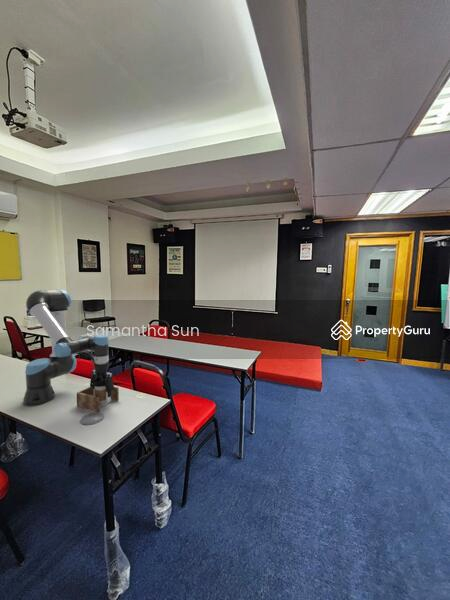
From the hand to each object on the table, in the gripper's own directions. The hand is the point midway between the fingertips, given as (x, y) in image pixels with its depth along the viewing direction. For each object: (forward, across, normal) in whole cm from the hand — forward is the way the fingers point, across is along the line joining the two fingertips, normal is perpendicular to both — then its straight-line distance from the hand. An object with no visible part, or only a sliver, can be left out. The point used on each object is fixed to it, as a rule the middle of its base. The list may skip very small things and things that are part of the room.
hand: (102, 400), depth 149 cm
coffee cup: (+3, 0, 0) cm, 3 cm away
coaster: (+2, +8, -14) cm, 16 cm away
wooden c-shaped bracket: (+2, -3, 0) cm, 4 cm away
